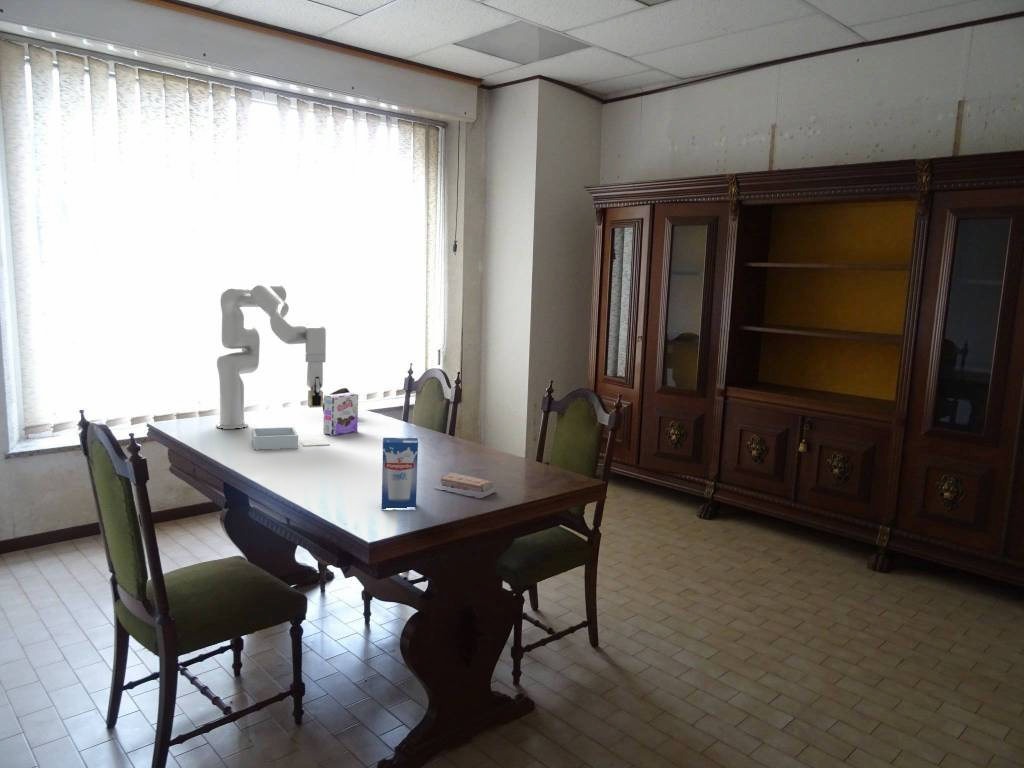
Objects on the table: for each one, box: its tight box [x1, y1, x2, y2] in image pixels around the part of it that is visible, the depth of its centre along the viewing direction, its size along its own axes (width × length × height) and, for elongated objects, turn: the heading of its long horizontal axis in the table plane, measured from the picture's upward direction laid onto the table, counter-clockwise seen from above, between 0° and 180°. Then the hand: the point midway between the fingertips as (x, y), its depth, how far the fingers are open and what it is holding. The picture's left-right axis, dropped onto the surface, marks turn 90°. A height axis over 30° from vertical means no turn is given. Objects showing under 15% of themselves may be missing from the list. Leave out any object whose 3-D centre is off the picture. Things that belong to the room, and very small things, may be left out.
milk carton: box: [381, 437, 419, 510], centre depth 214 cm, size 10×6×20 cm, turn 99°
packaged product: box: [440, 472, 494, 492], centre depth 235 cm, size 18×5×10 cm
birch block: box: [307, 389, 324, 408], centre depth 287 cm, size 5×5×6 cm
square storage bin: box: [251, 426, 299, 451], centre depth 284 cm, size 16×16×5 cm
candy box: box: [323, 392, 359, 437], centre depth 309 cm, size 14×6×16 cm, turn 143°
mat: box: [299, 438, 330, 447], centre depth 290 cm, size 10×10×1 cm
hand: (315, 403), depth 287 cm, fingers closed on birch block, 4 cm apart
